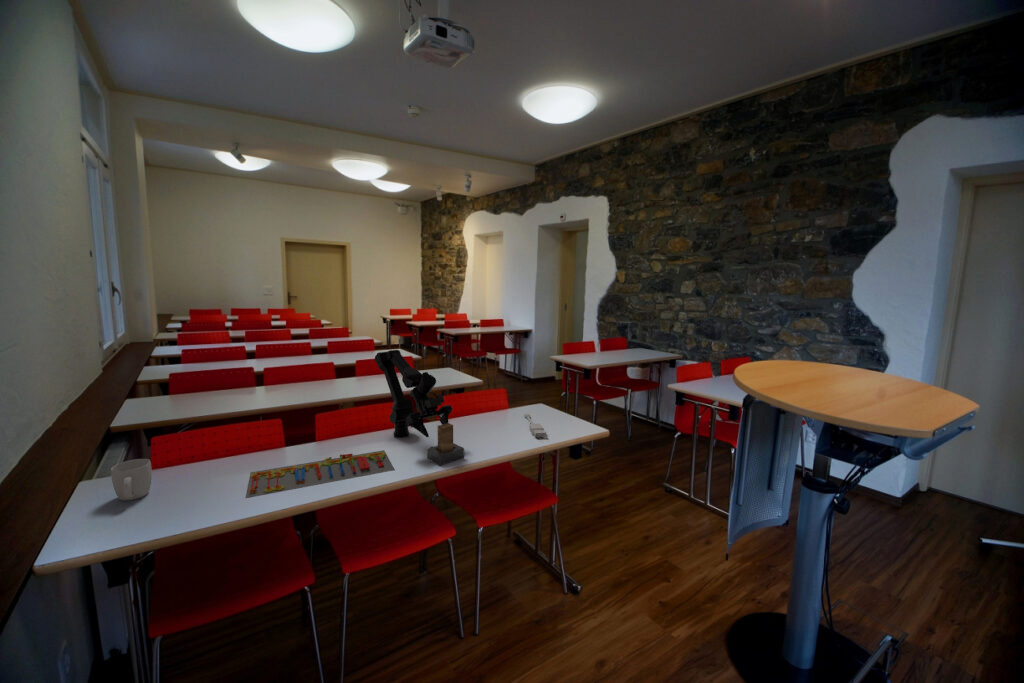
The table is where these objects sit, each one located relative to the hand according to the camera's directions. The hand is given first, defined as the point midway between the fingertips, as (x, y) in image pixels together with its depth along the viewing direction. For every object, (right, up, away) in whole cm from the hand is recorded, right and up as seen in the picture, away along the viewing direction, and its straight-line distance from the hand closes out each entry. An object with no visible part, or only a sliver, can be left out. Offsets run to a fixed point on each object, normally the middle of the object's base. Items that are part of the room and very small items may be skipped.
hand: (438, 434), depth 162 cm
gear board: (-38, -11, -14) cm, 42 cm away
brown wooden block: (+3, -9, -2) cm, 10 cm away
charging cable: (+38, -5, +35) cm, 52 cm away
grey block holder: (+3, -9, -2) cm, 10 cm away
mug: (-86, -12, -34) cm, 94 cm away
